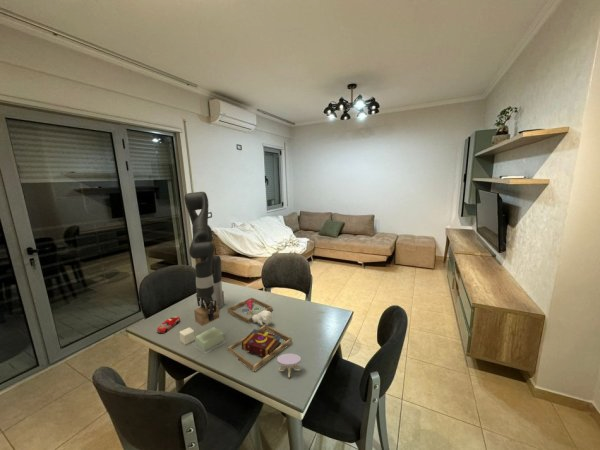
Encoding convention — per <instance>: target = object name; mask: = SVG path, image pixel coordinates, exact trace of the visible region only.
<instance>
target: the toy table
mask: <svg viewBox="0 0 600 450" xmlns="http://www.w3.org/2000/svg"><path fill="white" fill-rule="evenodd" d="M301 361H302V359H301V356H300V355H298V354H295V353H283V354H280V355H279V356H277V358H276V363H277V364H278V365H280V366H279V368H278V371H279V370H285V371H286V369H287V370H288V371H287V378H288V377H290V373H292V372H291V369H292V368H293V370H294V369H300V370H301V367H300V365H299V364H300V363H301Z"/></svg>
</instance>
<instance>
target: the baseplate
mask: <svg viewBox="0 0 600 450" xmlns="http://www.w3.org/2000/svg"><path fill="white" fill-rule="evenodd" d="M227 342H228V340H227V339H226V338H224V337H223V341H222V342H220V343H218V344H216V345H215V346H213V347H211V348H209V349H208V350H206V351H203V350H202V349H201V348H200V347H199V346H197V345H196V341H195V340H194V341H193V342H192V343H191V344H192V345H193V346H194V347H195V348H196V349H198V351H200V352H201V353H202V354H203V355H206V354H208V353H211V352H212V351H213V350H215V349H217V348H218V347H220V346H222V345H224V344H226V343H227Z"/></svg>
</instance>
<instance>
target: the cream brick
mask: <svg viewBox="0 0 600 450" xmlns="http://www.w3.org/2000/svg"><path fill="white" fill-rule="evenodd" d="M195 336H196V333H195V330H194V329H192V328H191V327H190V326H189V327H187V328H185V329H182V330H180V331H179V341H180V342H181V343H182V344H184V345H187V344H189V343H191V342H192V343H193V342H195Z"/></svg>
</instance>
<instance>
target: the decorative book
mask: <svg viewBox="0 0 600 450" xmlns="http://www.w3.org/2000/svg"><path fill="white" fill-rule="evenodd" d="M249 334H250V335H249ZM249 334H248V335H249V336H248V335H247V336H248V337H247V338H246V339H245V340H244V341H243V342H242V343H241V349H242V350H243V351H246V352H247V354H254V355H257V356H259V357H261V358H264V357H265V356H267V355H270V353H271V352H272V351H274V350H275V349H276V348H278V347H279V346H280V345H282V342H280V340H281V336H279V335H275V334H274V335H273V334H272V333H270V332H268V331H264V332H261V331H259V330H258V329H253V330H252V331H251V332H250V333H249Z"/></svg>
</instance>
